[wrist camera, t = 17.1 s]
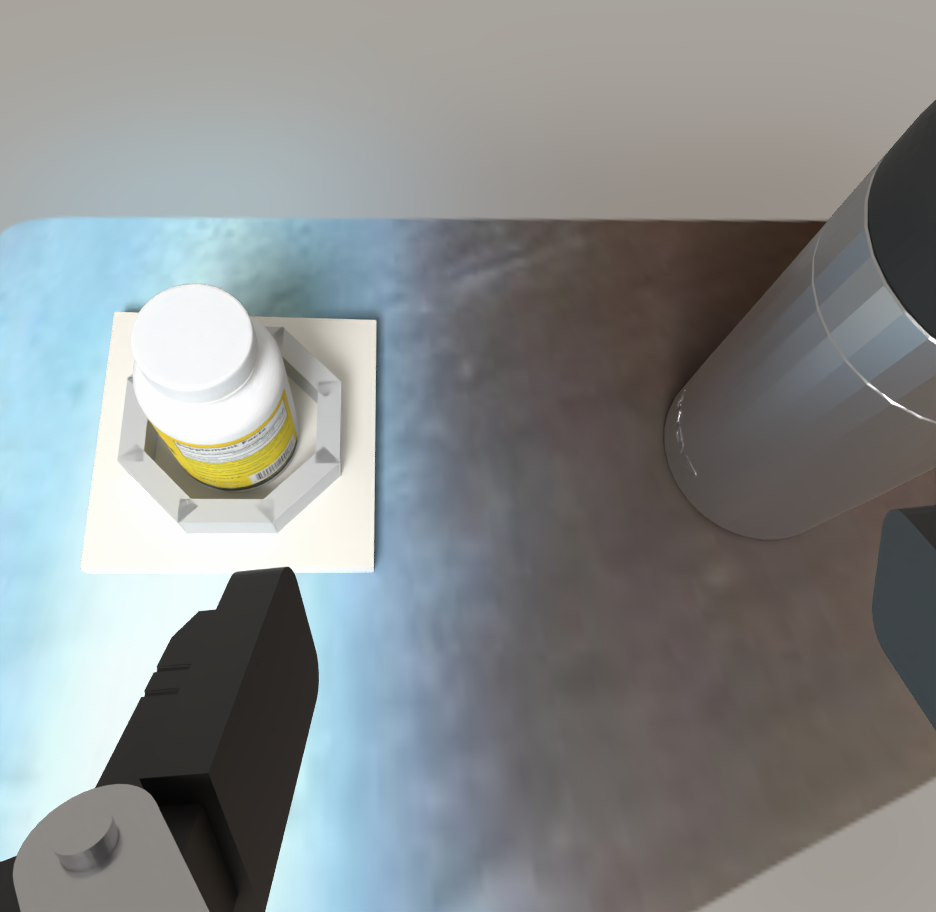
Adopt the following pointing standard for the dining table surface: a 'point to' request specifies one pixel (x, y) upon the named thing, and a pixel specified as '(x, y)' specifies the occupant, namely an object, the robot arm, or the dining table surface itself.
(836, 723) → the dining table surface
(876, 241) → the robot arm
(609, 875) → the dining table surface
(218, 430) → the supplement bottle
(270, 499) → the seat plate
